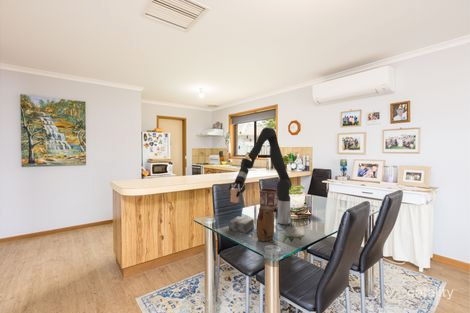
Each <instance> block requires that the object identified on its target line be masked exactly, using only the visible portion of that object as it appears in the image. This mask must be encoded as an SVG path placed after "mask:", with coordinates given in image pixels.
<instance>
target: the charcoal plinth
mask: <svg viewBox="0 0 470 313" xmlns="http://www.w3.org/2000/svg"><path fill="white" fill-rule="evenodd" d="M254 227H255V220H254V219H253V218H251V217H250V218H249V217H243V216H239V215H237V216H235V217H234V218H232V219H230V220H229V222H228V230H229V231H234V232H240V233H243V234H247V233H249V231H251V230H252V229H254Z"/></svg>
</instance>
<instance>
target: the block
mask: <svg viewBox="0 0 470 313" xmlns="http://www.w3.org/2000/svg"><path fill="white" fill-rule="evenodd" d="M258 209H259V211H258V214H257V217H256V228H255V229H256V234H255V235H256V238H257V240H258V241H259V242H268V241H271V240H273V239H274V237H275V236H274V234H275V213H274V212H275V210H274V209H273V208H271V207H269V206H262V207H261V206H260V207H259V208H258Z"/></svg>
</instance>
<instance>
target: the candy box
mask: <svg viewBox="0 0 470 313" xmlns="http://www.w3.org/2000/svg"><path fill="white" fill-rule="evenodd" d="M304 195H305V203H304V204H305V206H307V207H308V208H309V212H310V213H311V215H312V210H313V209H312V203H313V202H312V198H313V196H312V195H311V194H304Z"/></svg>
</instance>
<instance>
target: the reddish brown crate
mask: <svg viewBox="0 0 470 313" xmlns="http://www.w3.org/2000/svg"><path fill="white" fill-rule="evenodd" d="M259 205H260V207H262V206H269V207H271V208H273V209H274V211H275V210H278V207H277V205H278V196H277V188H276V189H275V188H261V189H259Z"/></svg>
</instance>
